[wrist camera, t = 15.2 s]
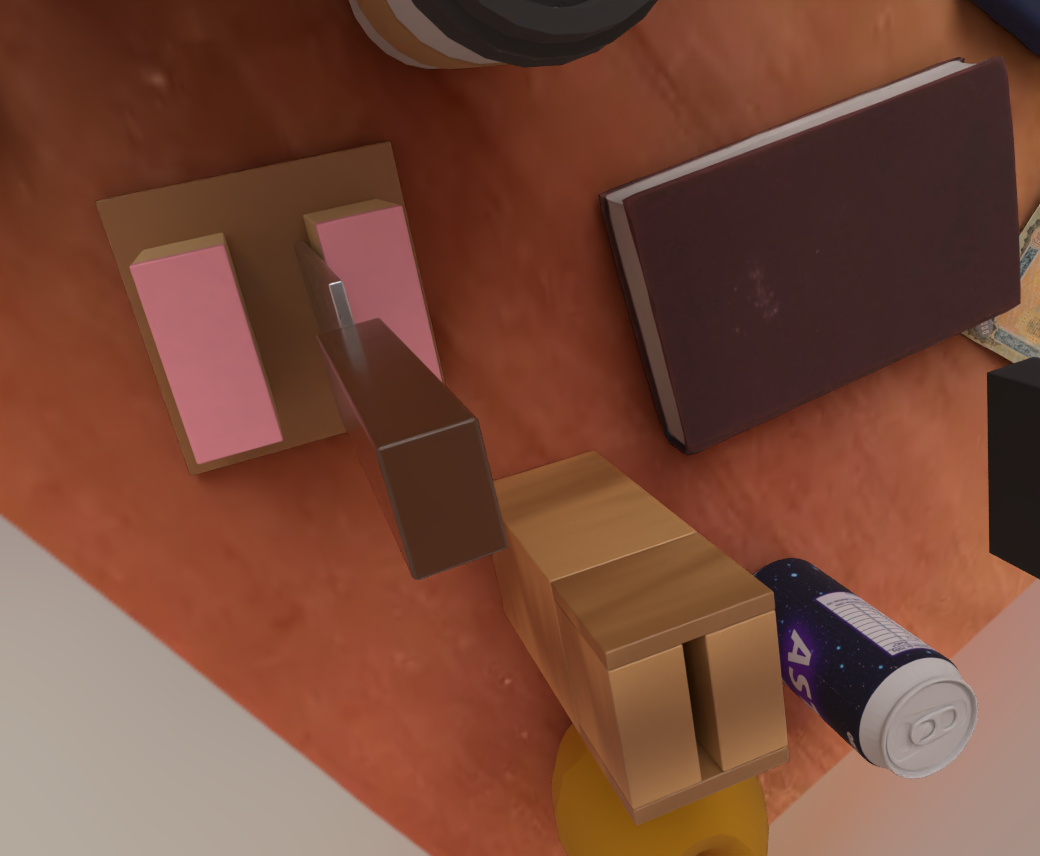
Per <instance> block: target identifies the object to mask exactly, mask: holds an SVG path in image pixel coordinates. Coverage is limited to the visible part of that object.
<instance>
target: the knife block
mask: <svg viewBox="0 0 1040 856" xmlns="http://www.w3.org/2000/svg"><path fill="white" fill-rule="evenodd" d="M493 483H494V487H495V491H496V495H497V499H498V503H499V507H500V511H501V515H502V520H503V524H504V528H505V532H506V536H507V540H508V548H506V549H505V550H502V551H499V552H496V553H493V554H492V559H493V563H494V568H495V572H496V577H497V581H498V585H499V590H500V594H501V599H502V603H503V608H504V612H505V615H506V616H507V618H508V619H509V621H510V623H511V624H512V626H513V627H514V629H515V631H516V632H517V634H518V636H519V637H520V639H521V640H522V642H523V644H524V645H525V647H526V648H527V650H528V652H529V653H530V655H531V657H532V658H533V660H534V661H535V663H536V665H537V666H538V668H539V669H540V671H541V673H542V674H543V676H544V677H545V679H546V681H547V682H548V684H549V686H550V687H551V689H552V690H553V692H554V694H555V695H556V697H557V698H558V700H559V702H560V703H561V705H562V707H563V708H564V710H565V711H566V713H567V715H568V716H569V718H570V719H571V721H572V723H573V724H574V726H575V728H576V729H577V731H578V732H579V734H580V735H581V737H582V739H583V740H584V742H585V744H586V745H587V747H588V749H589V750H590V752H591V753H592V755H593V757H594V758H595V760H596V761H597V763H598V765H599V766H600V768H601V770H602V771H603V773H604V774H605V776H606V778H607V779H608V781H609V782H610V784H611V786H612V787H613V789H614V791H615V792H616V794H617V795H618V797H619V799H620V800H621V802H622V803H623V805H624V807H625V808H626V810H627V812H628V813H629V815H630V816H631V818H632V820H633V821H634V823H635V824H636V825H639V824H642V823H644V822H647V821H649V820H651V819H654V818H656V817H658V816H661V815H663V814H666V813H668V812H670V811H673V810H675V809H677V808H680V807H682V806H685V805H687V804H689V803H692V802H694V801H696V800H699V799H701V798H704V797H706V796H708V795H711V794H713V793H715V792H718V791H720V790H723V789H725V788H727V787H730V786H732V785H734V784H737V783H739V782H742V781H744V780H746V779H749V778H751V777H753V776H756V775H758V774H761V773H763V772H765V771H768V770H770V769H772V768H775V767H777V766H780V765H782V764H784V763H787V762H789V760H790V759H789V749H788V746H787V745H788V740H787V729H786V719H785V708H784V698H783V687H782V677H781V667H780V656H779V646H778V635H777V625H776V615H775V610H774V609H775V602H774V593H773V591H772V590H771V589H769V588H768V587H767V586H765V585H764V584H763V583H762V582H760V581H759V580H758V579H757V578H755V577H754V576H753V575H752V574H750V573H749V572H748V571H747V570H745V569H744V568H743V567H741V566H740V565H739V564H738V563H736V562H735V561H734V560H733V559H731V558H730V557H729V556H728V555H726V554H725V553H724V552H722V551H721V550H720V549H719V548H717V547H716V546H715V545H714V544H712V543H711V542H710V541H709V540H707V539H706V538H705V537H704V536H702V535H701V534H700V533H698V532H697V531H696V530H694V529H693V528H692V527H691V526H689V525H688V524H687V523H686V522H684V521H683V520H682V519H681V518H679V517H678V516H677V515H676V514H674V513H673V512H672V511H670V510H669V509H668V508H667V507H665V506H664V505H663V504H662V503H660V502H659V501H658V500H657V499H655V498H654V497H653V496H652V495H650V494H649V493H648V492H646V491H645V490H644V489H643V488H641V487H640V486H639V485H638V484H636V483H635V482H634V481H633V480H631V479H630V478H629V477H628V476H626V475H625V474H624V473H622V472H621V471H620V470H619V469H617V468H616V467H615V466H614V465H612V464H611V463H610V462H609V461H607V460H606V459H605V458H604V457H602V456H601V455H600V454H598V453H597V452H596V451H590V452H587V453H584V454H580V455H577V456H574V457H571V458H567V459H564V460H561V461H558V462H554V463H551V464H548V465H545V466H541V467H538V468H535V469H531V470H528V471H525V472H522V473H518V474H515V475H512V476H509V477H505V478H502V479H499V480H496V481H493Z"/></svg>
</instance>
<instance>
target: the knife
mask: <svg viewBox="0 0 1040 856" xmlns="http://www.w3.org/2000/svg"><path fill="white" fill-rule="evenodd" d="M294 246H295V249H296V253H297V256H298V259H299V262H300V266H301V269H302V272H303V276H304V279H305V282H306V285H307V289H308V292H309V295H310V299H311V302H312V305H313V309H314V312H315V315H316V318H317V322H318V325H319V328H320V332H321V334H319V335H317V338H316V339H317V342H318V346H319V349H320V352H321V355H322V359H323V362H324V365H325V368H326V372H327V375H328V378H329V381H330V385H331V388H332V391H333V395H334V398H335V401H336V404H337V408H338V411H339V414H340V417H341V421H342V423H343V425H344V428H345V430H346V432H347V434H348V436H349V439H350V441H351V443H352V445H353V447H354V450H355V452H356V454H357V456H358V458H359V461H360V463H361V465H362V467H363V469H364V472H365V474H366V476H367V478H368V480H369V483H370V485H371V487H372V489H373V491H374V494H375V496H376V498H377V500H378V502H379V505H380V507H381V509H382V511H383V513H384V516H385V518H386V520H387V522H388V524H389V527H390V529H391V531H392V533H393V535H394V538H395V540H396V542H397V544H398V546H399V549H400V551H401V553H402V555H403V557H404V560H405V562H406V564H407V566H408V568H409V571H410V573H411V575H412V577H413V578H414V579H415V580H420V579H423V578H425V577H428V576H431V575H434V574H437V573H440V572H442V571H445V570H448V569H451V568H454V567H457V566H459V565H462V564H465V563H468V562H471V561H473V560H476V559H479V558H482V557H485V556H488V555H490V554H493V553H496V552H499V551H502V550H505V549H506V548H508V540H507V536H506V532H505V528H504V524H503V520H502V515H501V511H500V507H499V503H498V499H497V495H496V491H495V487H494V483H493V479H492V475H491V471H490V467H489V463H488V459H487V454H486V450H485V446H484V442H483V438H482V434H481V430H480V426H479V422H478V419H477V418H476V417H475V416H474V415H473V413H472V412H471V411H470V410H469V409H468V408H467V407H466V406H465V405H464V404H463V403H462V402H461V401H460V400H459V399H458V398H457V397H456V396H455V395H454V394H453V393H452V392H451V391H450V390H449V389H448V388H447V387H446V386H445V385H444V384H443V383H442V382H441V381H440V380H439V379H438V378H437V376H436V375H435V374H434V373H433V372H432V371H431V370H430V369H429V368H428V367H427V366H426V365H425V364H424V363H423V362H422V361H421V360H420V359H419V358H418V357H417V356H416V355H415V354H414V353H413V352H412V351H411V350H410V349H409V348H408V347H407V346H406V345H405V344H404V343H403V342H402V341H401V339H400V338H399V337H398V336H397V335H396V334H395V333H394V332H393V331H392V330H391V329H390V328H389V327H388V326H387V325H386V324H385V323H384V322H383V321H382V320H381V319H380V318H375V319H372V320H368V321H364V322H361V323H357V324H355V322H354V319H353V315H352V312H351V308H350V305H349V302H348V298H347V295H346V291H345V288H344V284H343V281H342V280H341V279H340V278H339V277H338V276H337V275H336V274H335V273H334V272H333V271H332V270H331V269H330V268H329V267H328V266H327V265H326V264H325V263H324V261H323V260H322V259H321V258H320V257H319V256H318V255H317V254H316V253H315V252H314V251H313V250H312V249H311V248H310V247H309V246H308V245H307V244H306V243H305V242H304V241H303V240H302V241H298V242H295V243H294Z"/></svg>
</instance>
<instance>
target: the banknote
mask: <svg viewBox="0 0 1040 856" xmlns="http://www.w3.org/2000/svg"><path fill="white" fill-rule="evenodd" d="M1019 244H1020V280H1021V304H1019V305H1018V306H1016V307H1015V308H1013V309H1011V310H1009V311H1008V312H1006V313H1004V314H1001V315H999V316H996V317H994V318H992V319H990V320H988V321H986V322H983V323H981V324H979V325H977V326H975V327H973V328H971V329H969V330H966V331H964V332H962V333H961V334H963V335H965V336H966V337H968V338H970V339H972V340H973V341H974V342H976V343H978V344H980V345H982V346H984V347H986V348H988V349H990V350H992V351H994V352H996V353H997V354H999V355H1001V356H1003V357H1004V358H1006V359H1008V360H1009V361H1011V362H1012V363H1016V362H1019V361H1022V360H1025V359H1028V358H1030V357H1033V356H1034V357H1038V358H1040V204H1039V206H1038V207H1037V209H1036V210H1035V212H1034V213H1033V215H1032V217H1031V218H1030V220H1029V221H1028V223H1027V224H1026V226H1025V228H1024V229H1023V231H1022V232H1021V234H1020V236H1019Z"/></svg>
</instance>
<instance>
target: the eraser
mask: <svg viewBox="0 0 1040 856" xmlns="http://www.w3.org/2000/svg"><path fill="white" fill-rule="evenodd" d="M971 1H973V2H974V3H975V4H976V5H977V6H978V7H979V8H980V9H982V10H983V11H985V12H986V13H987V14H988V15H990V16H991V18H992V19H993V20H994V21H995V22H996V23H997V24H999V25H1001V26H1002V27H1004V28H1005V29H1006V30H1007V31H1009V32H1010V33H1011V34H1012V35H1014V36H1016V37H1017V38H1018V39H1019V40H1020V41H1021V42H1022V43H1023V44H1024V45H1025V46H1026V47H1027V48H1028V49H1029V50H1030V51H1032V52H1033V53H1035V54H1037V55H1038V56H1040V0H971Z"/></svg>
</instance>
